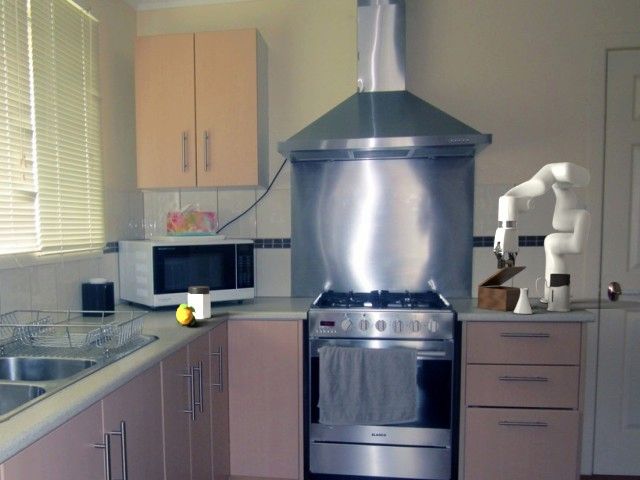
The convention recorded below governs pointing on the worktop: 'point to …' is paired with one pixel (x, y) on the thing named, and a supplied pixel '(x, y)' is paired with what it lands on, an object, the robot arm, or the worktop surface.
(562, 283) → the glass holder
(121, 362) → the worktop surface
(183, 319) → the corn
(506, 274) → the lid
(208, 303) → the jar
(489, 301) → the chest
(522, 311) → the flask
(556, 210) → the robot arm
